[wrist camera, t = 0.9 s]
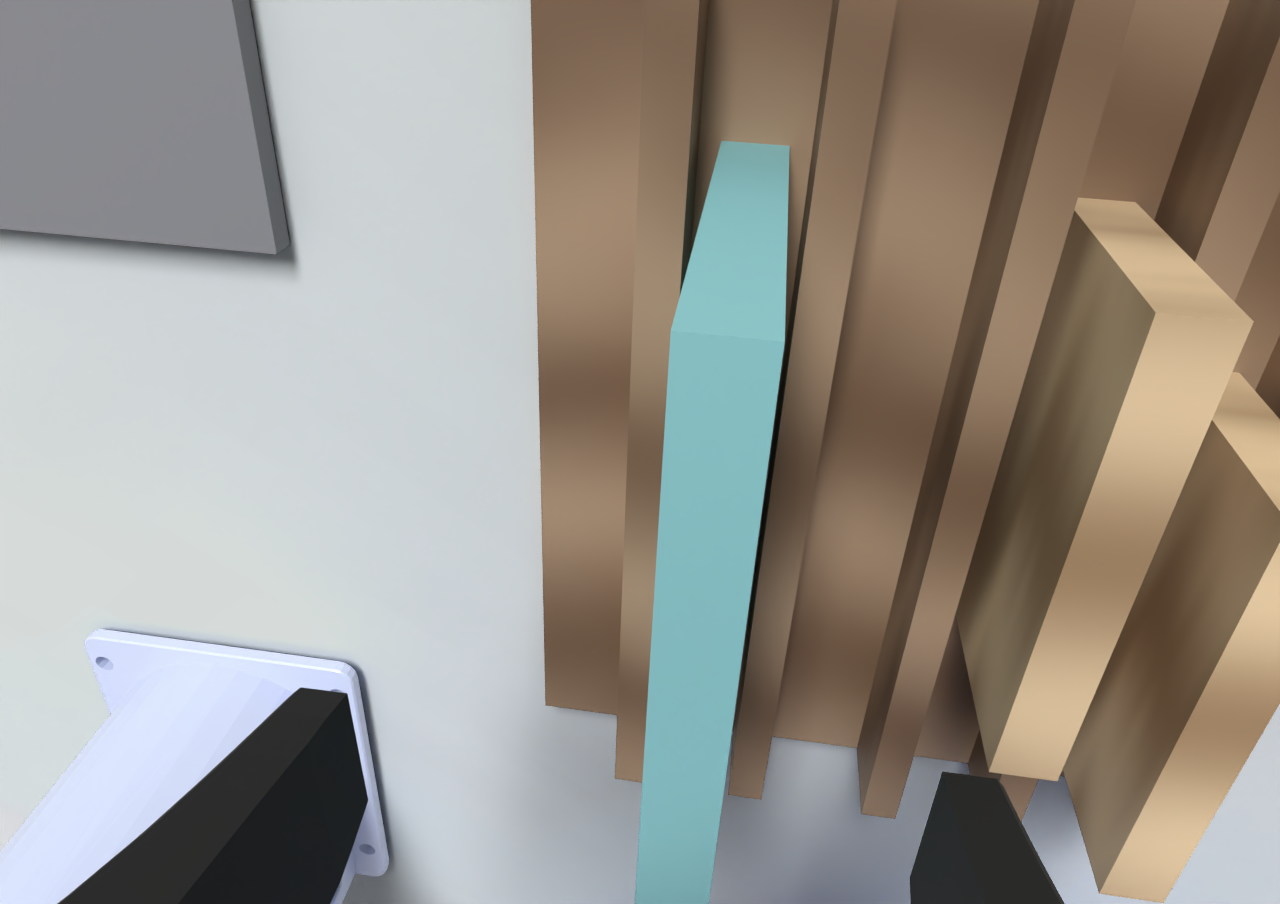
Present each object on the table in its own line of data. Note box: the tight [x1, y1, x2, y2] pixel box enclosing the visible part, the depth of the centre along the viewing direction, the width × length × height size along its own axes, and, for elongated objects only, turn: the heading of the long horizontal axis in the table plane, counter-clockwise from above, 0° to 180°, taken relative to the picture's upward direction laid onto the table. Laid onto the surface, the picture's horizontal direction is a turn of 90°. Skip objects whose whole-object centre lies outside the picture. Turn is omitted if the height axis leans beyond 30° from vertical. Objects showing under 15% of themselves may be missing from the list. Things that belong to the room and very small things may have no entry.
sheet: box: [635, 141, 790, 904], centre depth 16 cm, size 12×1×8 cm, turn 178°
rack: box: [531, 0, 1280, 821], centre depth 19 cm, size 18×15×3 cm
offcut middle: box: [956, 198, 1254, 781], centre depth 17 cm, size 9×1×5 cm, turn 178°
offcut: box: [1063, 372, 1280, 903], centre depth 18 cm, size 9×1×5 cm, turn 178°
